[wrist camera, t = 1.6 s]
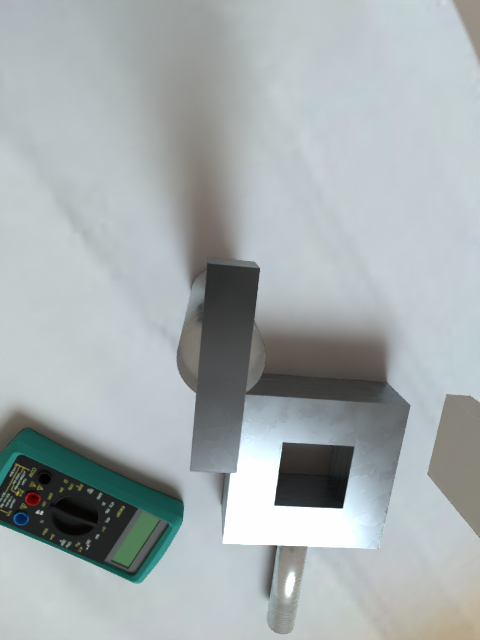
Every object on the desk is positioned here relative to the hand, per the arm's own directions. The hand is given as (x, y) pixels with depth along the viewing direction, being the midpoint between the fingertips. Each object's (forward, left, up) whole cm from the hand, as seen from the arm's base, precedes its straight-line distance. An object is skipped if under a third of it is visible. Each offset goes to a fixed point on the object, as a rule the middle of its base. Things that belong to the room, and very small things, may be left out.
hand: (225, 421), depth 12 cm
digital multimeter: (+18, -9, -20) cm, 28 cm away
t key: (0, 0, -19) cm, 19 cm away
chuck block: (+17, +8, -19) cm, 27 cm away
